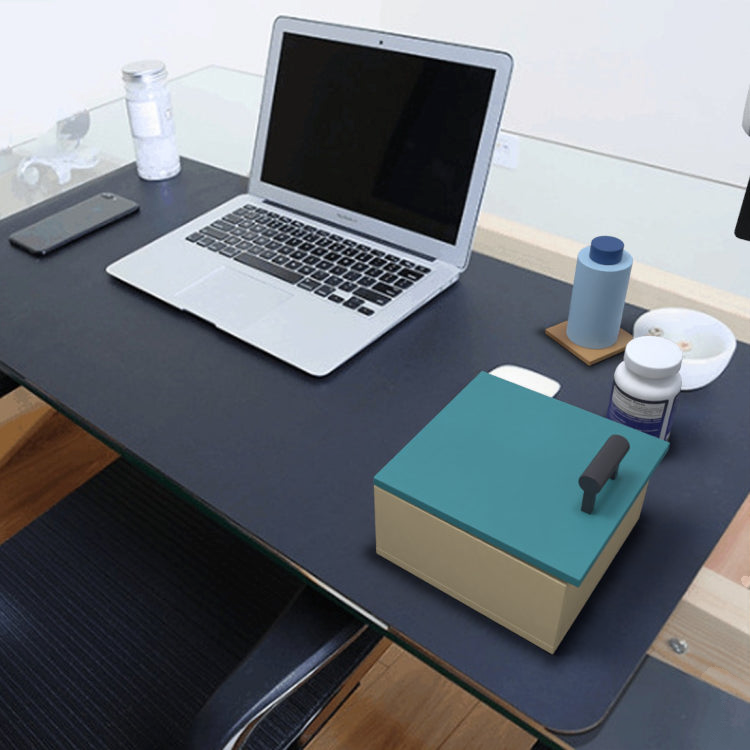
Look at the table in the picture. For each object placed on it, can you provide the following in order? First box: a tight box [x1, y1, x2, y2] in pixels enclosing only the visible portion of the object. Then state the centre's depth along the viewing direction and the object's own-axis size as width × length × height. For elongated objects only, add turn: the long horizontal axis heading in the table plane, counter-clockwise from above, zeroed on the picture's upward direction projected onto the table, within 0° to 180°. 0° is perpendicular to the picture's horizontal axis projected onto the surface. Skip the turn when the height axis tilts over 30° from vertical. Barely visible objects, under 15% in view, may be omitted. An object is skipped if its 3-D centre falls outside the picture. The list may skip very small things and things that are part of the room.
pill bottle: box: [605, 335, 684, 442], centre depth 71 cm, size 6×6×10 cm
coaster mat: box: [544, 319, 634, 367], centre depth 86 cm, size 7×7×1 cm
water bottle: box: [566, 235, 634, 349], centre depth 82 cm, size 5×5×11 cm
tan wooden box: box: [373, 480, 650, 655], centre depth 62 cm, size 16×16×8 cm
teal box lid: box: [373, 370, 671, 588], centre depth 58 cm, size 16×16×4 cm
